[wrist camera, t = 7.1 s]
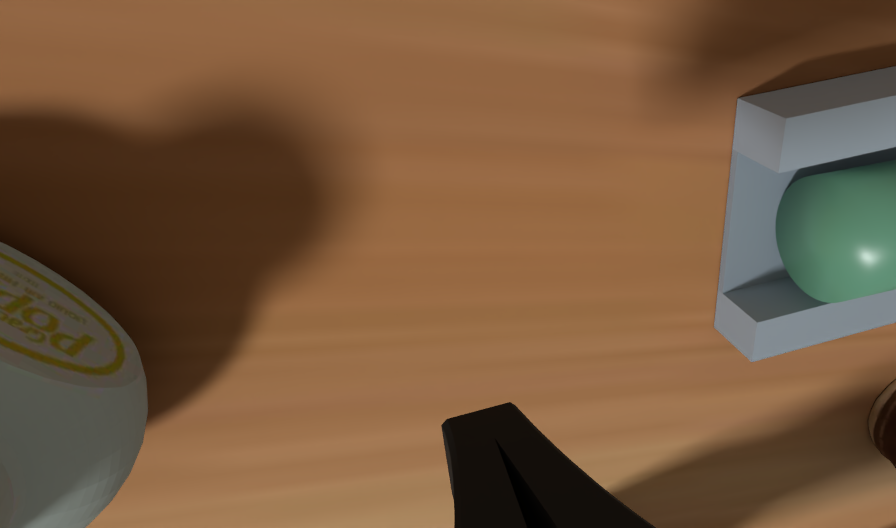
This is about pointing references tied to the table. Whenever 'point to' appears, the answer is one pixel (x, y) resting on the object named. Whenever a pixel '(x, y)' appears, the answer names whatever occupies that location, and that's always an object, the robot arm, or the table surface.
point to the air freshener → (62, 399)
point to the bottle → (840, 232)
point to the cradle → (760, 191)
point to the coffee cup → (885, 423)
